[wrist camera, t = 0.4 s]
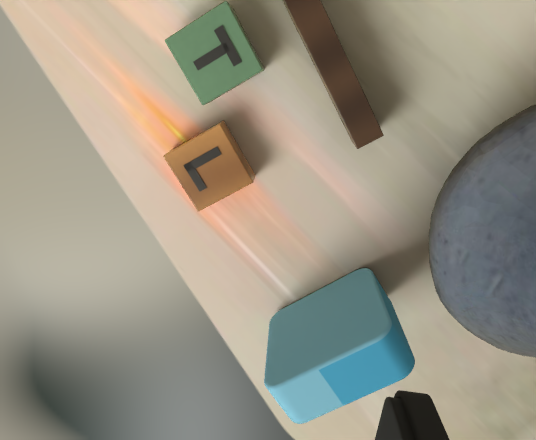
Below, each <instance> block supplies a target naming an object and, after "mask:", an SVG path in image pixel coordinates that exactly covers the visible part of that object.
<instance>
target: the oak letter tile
mask: <svg viewBox="0 0 536 440" xmlns="http://www.w3.org/2000/svg"><path fill="white" fill-rule="evenodd" d="M164 158H165V160H166V161H167V163H168V165H169V166H170V168H171V169H172V171H173V172H174V174H175V176H176V177H177V179H178V180H179V182H180V184H181V185H182V187H183V188H184V190H185V191H186V193H187V195H188V196H189V198H190V199H191V201H192V203H193V204H194V206H195V207H196V209H197V210H198V211H200V210H202V209H204V208H206V207H208V206H210V205H212V204H213V203H215V202H217V201H219V200H221V199H223V198H225V197H227V196H229V195H230V194H232V193H234V192H236V191H238V190H240V189H242V188H244V187H245V186H247V185H249V184H251V183H253V181H254V178H255V174H254V172H253V171H252V169H251V167H250V165H249V164H248V162H247V160H246V158H245V157H244V155H243V153H242V152H241V150H240V148H239V146H238V145H237V143H236V141H235V139H234V138H233V136H232V134H231V132H230V131H229V129H228V127H227V125H226V124H225V122H224V121H221V122H220V123H218V124H216V125H215V126H213V127H211V128H209V129H208V130H206V131H204V132H202V133H201V134H199V135H197V136H195V137H194V138H192V139H190V140H188V141H187V142H185V143H183V144H182V145H180V146H178V147H176V148H175V149H173V150H171V151H170V152H168V153H167V154H165V155H164Z"/></svg>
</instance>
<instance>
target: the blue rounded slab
mask: <svg viewBox="0 0 536 440" xmlns="http://www.w3.org/2000/svg"><path fill="white" fill-rule="evenodd" d="M414 364H415V359H414V356H413V354H412V351H411V349H410V346H409V344H408V341H407V339H406V337H405V334H404V332H403V329H402V327H401V325H400V322H399V320H398V317H397V315H396V312H395V310H394V308H393V305H392V303H391V301H390V299H389V298H388V296H387V295H386V293H385V291H384V290H383V288H382V286H381V285H380V283H379V282H378V280H377V278H376V277H375V275H374V273H373V272H372V271H371V270H370V269H368V268H362V269H358V270H356V271H354V272H352V273H350V274H348V275H346V276H344V277H342V278H340V279H338V280H336V281H335V282H333V283H331V284H329V285H327V286H325V287H323V288H321V289H319V290H317V291H315V292H314V293H312V294H310V295H308V296H306V297H304V298H302V299H300V300H298V301H296V302H294V303H293V304H291V305H289V306H287V307H285V308H283V309H281V310H280V311H278V312H277V313H276V314H275V315H274V316H273V317H272V319H271V321H270V324H269V335H268V346H267V357H266V368H265V379H264V383H265V386H266V388H267V389H268V390H269V392H270V393H271V394H272V396H273V397H274V398H275V400H276V401H277V402H278V404H279V405H280V406H281V407H282V409H283V410H284V411H285V413H286V414H287V415H288V417H289V418H290V419H291V420H292V421H293V422H294V423H298V424H302V423H306V422H308V421H310V420H313V419H315V418H317V417H319V416H322V415H324V414H326V413H328V412H330V411H333V410H335V409H337V408H339V407H342V406H344V405H346V404H348V403H351V402H353V401H355V400H357V399H359V398H362V397H364V396H366V395H368V394H371V393H373V392H375V391H377V390H379V389H382V388H384V387H386V386H388V385H391V384H393V383H395V382H397V381H399V380H402V379H403V378H405V377H406V376H408V375H409V374H410V372H411V371H412V369H413V367H414Z"/></svg>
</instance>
